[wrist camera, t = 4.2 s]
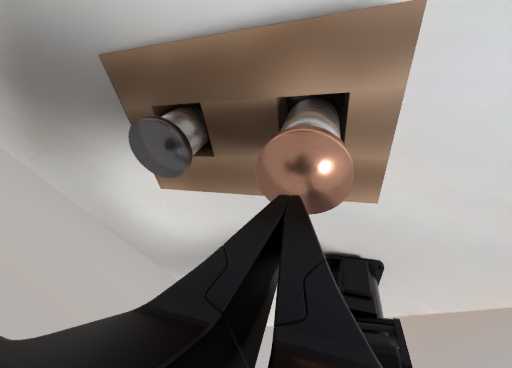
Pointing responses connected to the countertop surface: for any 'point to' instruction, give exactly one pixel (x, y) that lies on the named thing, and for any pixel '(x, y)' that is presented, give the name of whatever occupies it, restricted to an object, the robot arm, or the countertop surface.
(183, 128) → the grey plug
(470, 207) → the countertop surface
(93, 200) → the countertop surface
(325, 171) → the copper capped plug
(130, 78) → the socket block
